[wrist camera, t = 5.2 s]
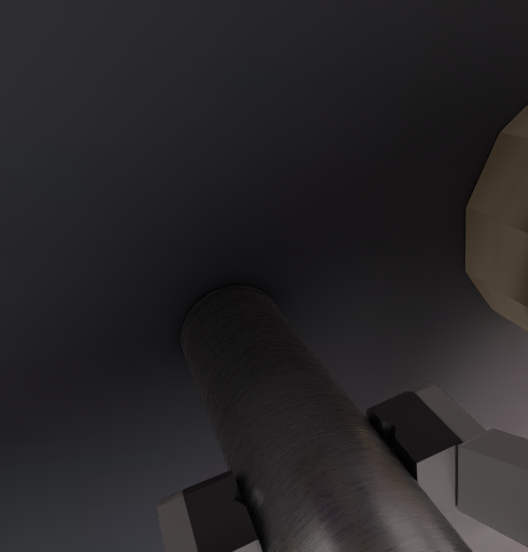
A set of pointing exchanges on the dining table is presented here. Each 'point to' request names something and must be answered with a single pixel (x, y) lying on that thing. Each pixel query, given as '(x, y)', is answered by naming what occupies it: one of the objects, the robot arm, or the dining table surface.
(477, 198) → the bead
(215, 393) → the frosted glass rod
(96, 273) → the dining table surface
